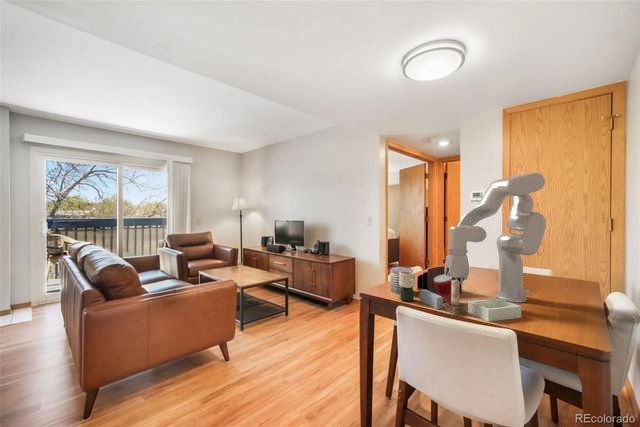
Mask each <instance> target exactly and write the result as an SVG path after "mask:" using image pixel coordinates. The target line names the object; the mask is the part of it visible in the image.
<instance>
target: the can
mask: <svg viewBox="0 0 640 427" xmlns="http://www.w3.org/2000/svg"><path fill="white" fill-rule="evenodd" d="M401 271H409V272H414V269H413V268H411V267H406V266H397V267H392V268H390V292H391V293H393V294H396V295H400V294H401V288H402V286H400V285H399V272H401ZM412 289H413V290H414V287H412Z"/></svg>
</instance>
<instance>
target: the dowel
mask: <svg viewBox="0 0 640 427" xmlns="http://www.w3.org/2000/svg"><path fill="white" fill-rule="evenodd" d="M459 303H460V293H459V281H458V280H451V306H454V307H459Z"/></svg>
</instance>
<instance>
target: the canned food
mask: <svg viewBox="0 0 640 427" xmlns="http://www.w3.org/2000/svg"><path fill="white" fill-rule="evenodd" d="M451 280H453V278H452V276H449V277H448V276H447V274H446V275H445V274H444V275H439V276H436V277H435V278H434V282H435V286H436V289H437V293H438V294H437V295H439V296H441V297H443V304H444V303H450V302H451Z"/></svg>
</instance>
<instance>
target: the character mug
mask: <svg viewBox="0 0 640 427" xmlns="http://www.w3.org/2000/svg"><path fill="white" fill-rule="evenodd" d="M415 280H416V273H415V272H414V271H413V272H409V271H401V272H399V285H400V286H402V288H401V294H399V298H400V300H401V301H408V302H410V301H413V302H414V300H415V296H414V287H416V282H415ZM412 287H413V289H412Z"/></svg>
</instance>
